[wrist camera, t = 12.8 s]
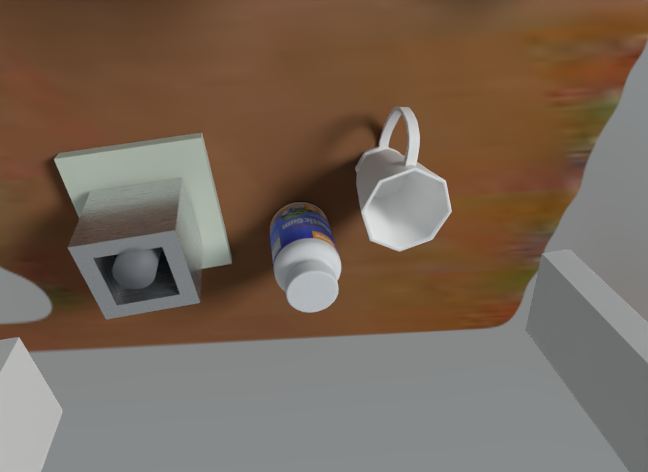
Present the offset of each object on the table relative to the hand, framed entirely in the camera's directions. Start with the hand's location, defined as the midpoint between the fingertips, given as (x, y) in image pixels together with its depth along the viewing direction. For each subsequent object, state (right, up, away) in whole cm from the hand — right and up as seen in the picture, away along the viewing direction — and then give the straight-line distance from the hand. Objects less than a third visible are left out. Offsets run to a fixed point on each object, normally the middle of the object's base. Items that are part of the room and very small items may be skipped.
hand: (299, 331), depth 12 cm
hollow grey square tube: (-14, +4, +27) cm, 30 cm away
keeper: (-14, +5, +28) cm, 31 cm away
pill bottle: (-2, +3, +31) cm, 32 cm away
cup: (+6, +10, +29) cm, 31 cm away
